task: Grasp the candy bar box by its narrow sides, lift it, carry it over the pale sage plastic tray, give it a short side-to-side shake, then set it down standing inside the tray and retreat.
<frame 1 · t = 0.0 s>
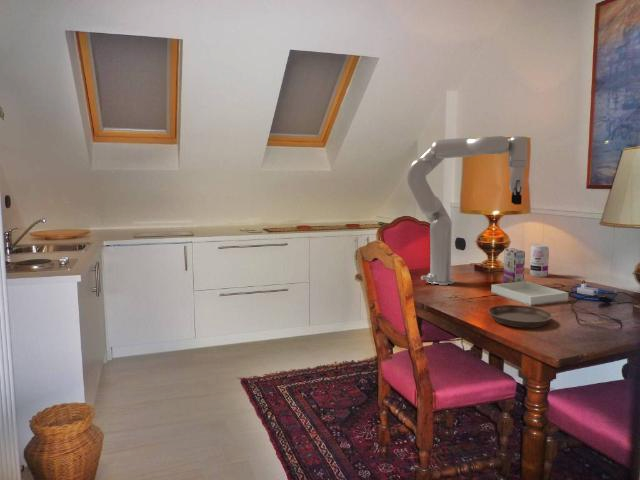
hand: (516, 203, 227), 37 cm above the table, tool pointing down, fingers open, 9 cm apart
supplement can: (538, 276, 252), on the table
plant saucer: (519, 322, 178), on the table
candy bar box: (513, 285, 232), on the table
tray: (528, 296, 211), on the table
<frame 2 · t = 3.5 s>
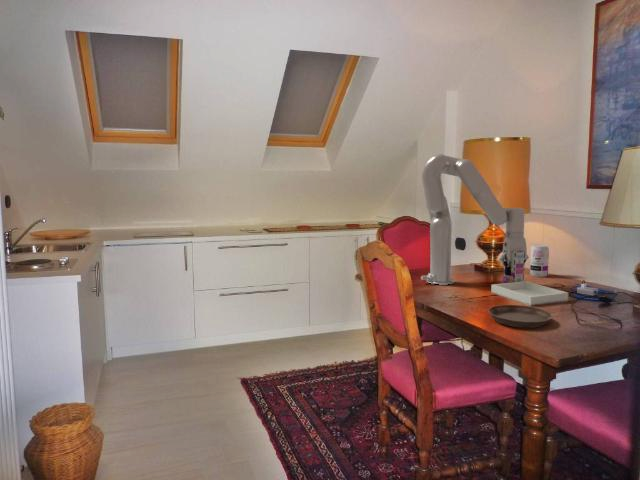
hand: (513, 274, 232), 5 cm above the table, tool pointing down, fingers closed on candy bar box, 5 cm apart
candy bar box: (513, 285, 232), on the table, touching gripper
everything else where it was.
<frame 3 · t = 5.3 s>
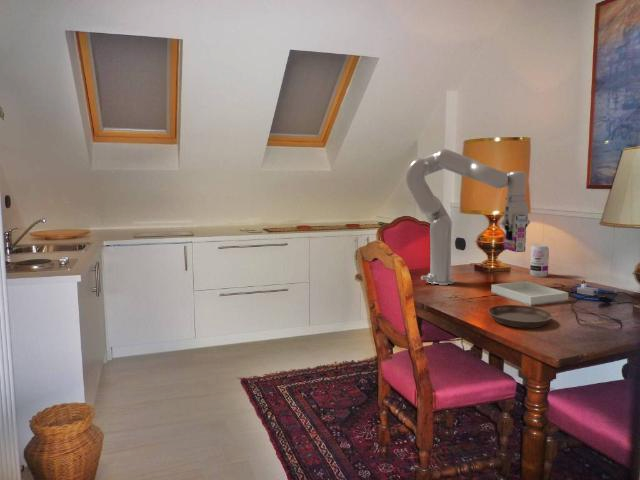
hand: (514, 239, 229), 21 cm above the table, tool pointing down, fingers closed on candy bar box, 5 cm apart
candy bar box: (514, 250, 230), point 16 cm above the table, touching gripper
everything else where it was.
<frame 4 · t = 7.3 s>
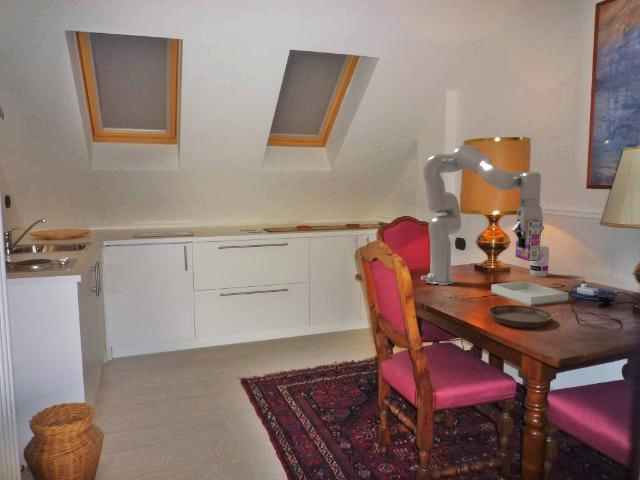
hand: (527, 246, 208), 21 cm above the table, tool pointing down, fingers closed on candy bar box, 5 cm apart
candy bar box: (527, 259, 209), point 16 cm above the table, touching gripper
everything else where it was.
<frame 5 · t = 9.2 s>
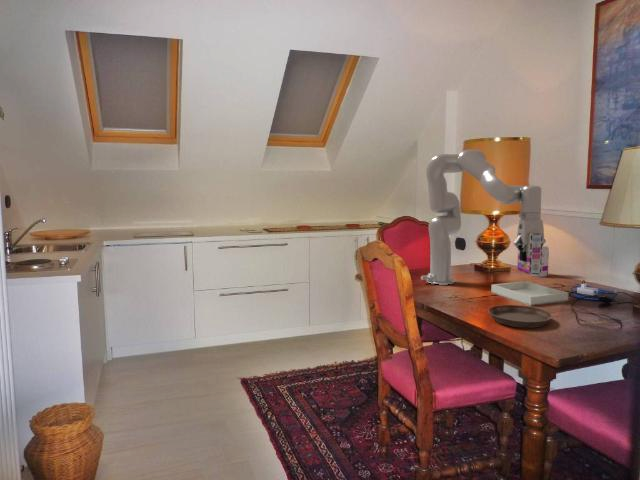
hand: (529, 259, 209), 16 cm above the table, tool pointing down, fingers closed on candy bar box, 5 cm apart
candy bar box: (529, 272, 209), point 10 cm above the table, touching gripper
everything else where it was.
when the fingers open (7 cm above the table, at t = 11.1 s): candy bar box drops 1 cm, resting on tray.
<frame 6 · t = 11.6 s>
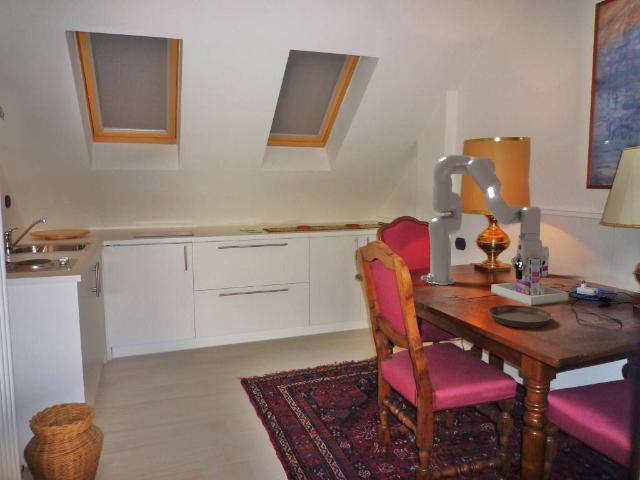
hand: (528, 278, 210), 8 cm above the table, tool pointing down, fingers open, 9 cm apart
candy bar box: (528, 295, 211), resting on tray
everything else where it was.
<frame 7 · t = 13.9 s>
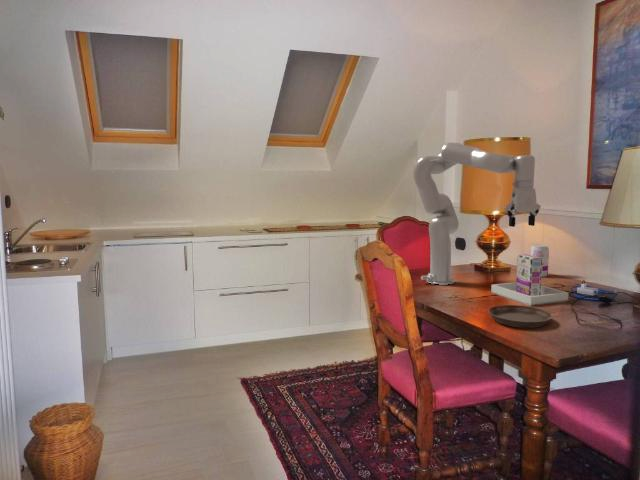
hand: (521, 225, 215), 29 cm above the table, tool pointing down, fingers open, 9 cm apart
nothing on the table moved.
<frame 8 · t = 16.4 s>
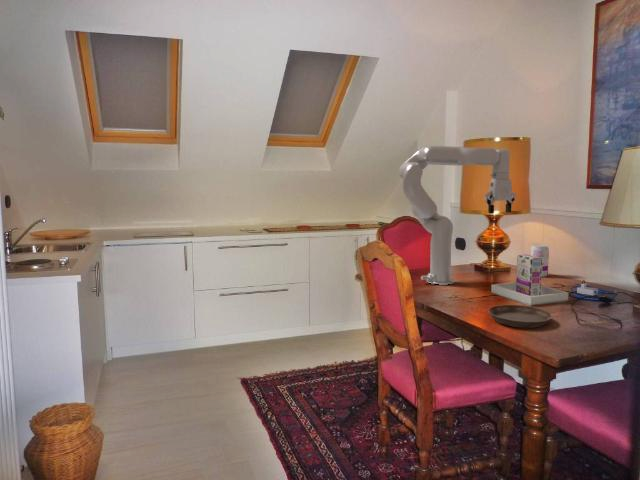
hand: (499, 212, 240), 32 cm above the table, tool pointing down, fingers open, 9 cm apart
nothing on the table moved.
at the end: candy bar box inside the target area on the tray (0.1 cm from its centre), point 0.4 cm above the tray's base; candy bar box tilted 0°; the gripper is holding nothing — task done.
